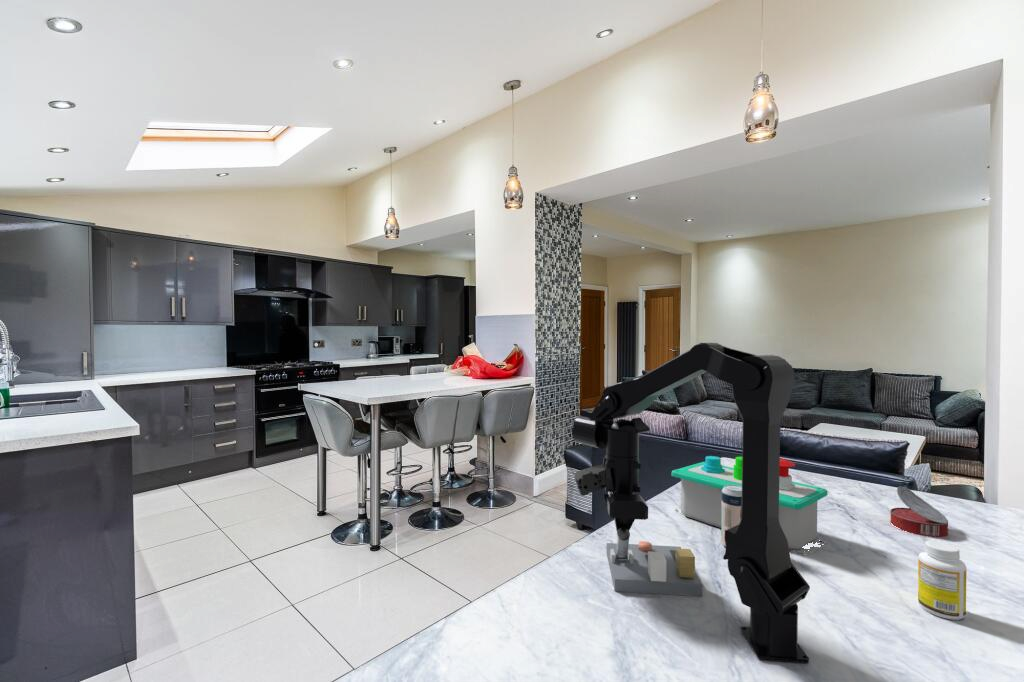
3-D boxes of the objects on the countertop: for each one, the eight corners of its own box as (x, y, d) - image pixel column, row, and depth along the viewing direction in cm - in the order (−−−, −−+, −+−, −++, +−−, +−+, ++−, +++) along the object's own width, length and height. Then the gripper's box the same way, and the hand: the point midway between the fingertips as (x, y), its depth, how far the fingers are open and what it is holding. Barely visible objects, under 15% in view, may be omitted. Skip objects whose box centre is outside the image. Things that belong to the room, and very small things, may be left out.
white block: (666, 581, 78) (666, 560, 78) (651, 580, 78) (651, 559, 78) (662, 572, 81) (662, 552, 81) (647, 571, 81) (648, 551, 81)
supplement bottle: (939, 600, 77) (940, 537, 77) (976, 620, 72) (977, 553, 72) (908, 602, 77) (909, 538, 77) (942, 622, 71) (943, 554, 71)
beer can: (750, 553, 94) (750, 492, 93) (724, 550, 95) (724, 490, 94) (743, 542, 98) (744, 484, 98) (718, 540, 99) (719, 483, 99)
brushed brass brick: (694, 578, 79) (694, 557, 79) (679, 577, 79) (680, 556, 79) (689, 569, 82) (690, 549, 82) (675, 568, 82) (675, 548, 82)
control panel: (701, 437, 124) (833, 461, 100) (700, 500, 124) (832, 539, 100) (667, 445, 115) (803, 473, 91) (666, 513, 115) (802, 560, 91)
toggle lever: (628, 563, 85) (631, 534, 82) (615, 562, 85) (618, 534, 82) (626, 553, 87) (629, 524, 84) (614, 552, 87) (616, 524, 84)
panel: (701, 596, 78) (702, 575, 78) (614, 591, 79) (614, 570, 79) (680, 556, 92) (680, 539, 92) (606, 553, 93) (606, 535, 93)
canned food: (916, 541, 111) (934, 503, 112) (952, 556, 101) (972, 514, 102) (869, 516, 112) (887, 478, 113) (900, 528, 102) (920, 487, 103)
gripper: (575, 440, 96) (574, 517, 96) (579, 466, 78) (578, 561, 78) (631, 442, 95) (630, 520, 95) (649, 468, 76) (648, 565, 77)
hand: (621, 539), depth 86 cm, fingers closed
